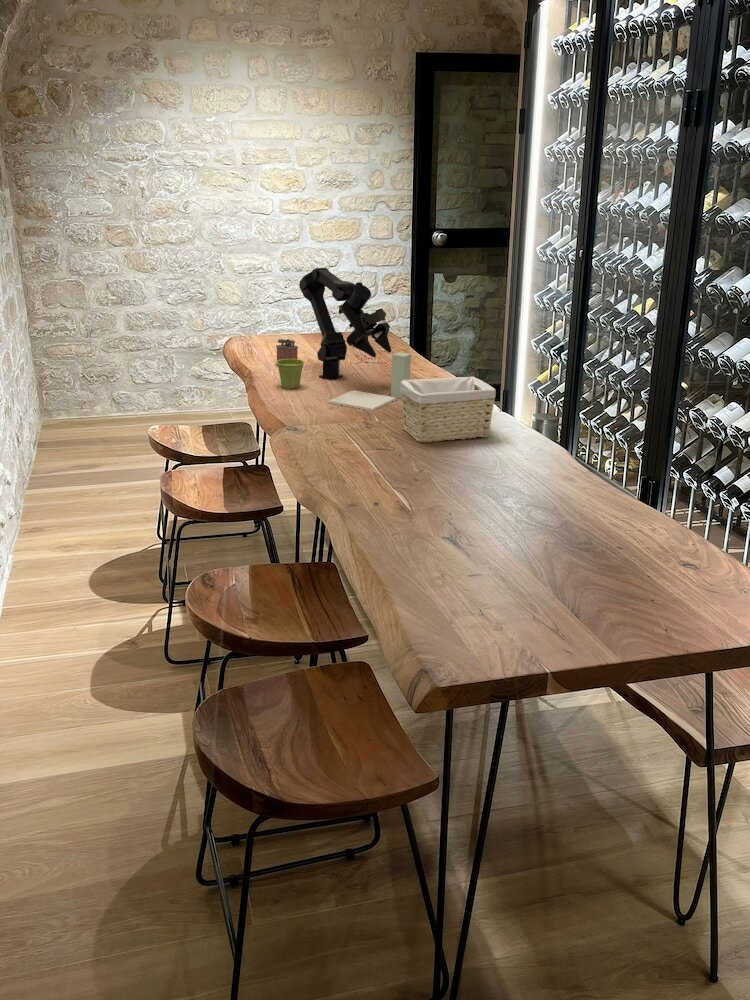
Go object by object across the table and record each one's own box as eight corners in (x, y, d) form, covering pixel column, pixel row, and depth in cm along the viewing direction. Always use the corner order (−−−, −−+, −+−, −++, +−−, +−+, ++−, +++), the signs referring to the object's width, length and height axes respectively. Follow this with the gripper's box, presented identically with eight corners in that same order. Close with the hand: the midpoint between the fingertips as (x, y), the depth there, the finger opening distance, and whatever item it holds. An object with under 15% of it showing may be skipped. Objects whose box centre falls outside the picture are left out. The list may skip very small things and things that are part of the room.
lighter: (298, 365, 323) (298, 338, 320) (297, 367, 320) (297, 340, 316) (277, 364, 324) (277, 337, 320) (275, 366, 321) (275, 339, 317)
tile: (353, 392, 290) (353, 390, 289) (395, 399, 283) (395, 397, 282) (328, 403, 276) (328, 400, 276) (372, 411, 270) (372, 408, 269)
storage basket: (415, 445, 240) (418, 393, 235) (396, 428, 254) (398, 378, 249) (494, 439, 247) (498, 389, 242) (471, 423, 261) (475, 375, 256)
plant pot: (300, 391, 289) (300, 365, 285) (272, 389, 290) (272, 363, 287) (307, 384, 297) (307, 359, 294) (281, 382, 299) (281, 357, 296)
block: (396, 393, 290) (398, 352, 285) (409, 395, 288) (411, 354, 283) (390, 396, 286) (392, 354, 281) (402, 398, 284) (404, 356, 279)
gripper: (354, 304, 275) (382, 343, 274) (386, 297, 290) (413, 335, 288) (334, 326, 282) (361, 364, 281) (366, 318, 297) (392, 355, 295)
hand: (383, 354), depth 286 cm, fingers open, 9 cm apart
